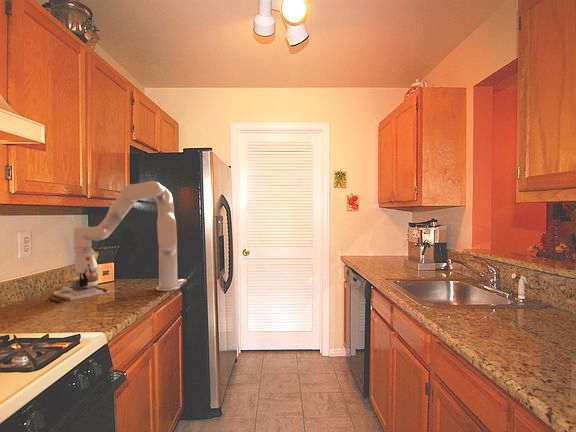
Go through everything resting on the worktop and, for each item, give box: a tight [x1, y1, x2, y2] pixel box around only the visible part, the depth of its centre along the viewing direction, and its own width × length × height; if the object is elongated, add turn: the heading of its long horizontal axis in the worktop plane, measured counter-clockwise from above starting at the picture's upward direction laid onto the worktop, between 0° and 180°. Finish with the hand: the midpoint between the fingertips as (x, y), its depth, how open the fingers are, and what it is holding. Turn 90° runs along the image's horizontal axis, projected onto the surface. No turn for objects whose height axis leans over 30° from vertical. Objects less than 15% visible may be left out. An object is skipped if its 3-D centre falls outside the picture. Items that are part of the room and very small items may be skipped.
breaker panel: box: [53, 285, 104, 301], centre depth 165 cm, size 15×20×4 cm
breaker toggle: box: [71, 276, 84, 290], centre depth 165 cm, size 4×4×7 cm
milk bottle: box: [87, 251, 99, 287], centre depth 184 cm, size 8×8×20 cm
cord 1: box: [48, 296, 63, 304], centre depth 152 cm, size 13×1×1 cm, turn 57°
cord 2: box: [93, 285, 108, 293], centre depth 173 cm, size 13×3×1 cm, turn 57°
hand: (83, 285), depth 161 cm, fingers closed
